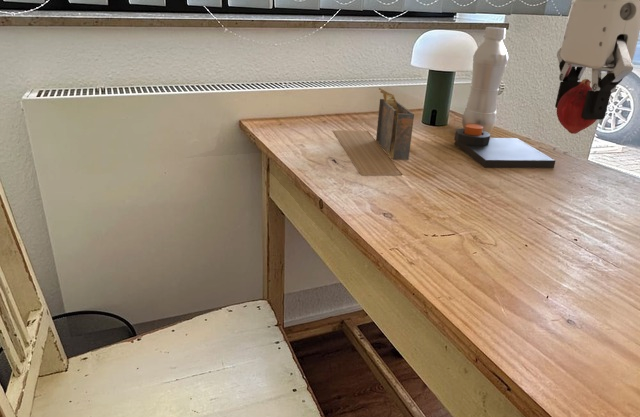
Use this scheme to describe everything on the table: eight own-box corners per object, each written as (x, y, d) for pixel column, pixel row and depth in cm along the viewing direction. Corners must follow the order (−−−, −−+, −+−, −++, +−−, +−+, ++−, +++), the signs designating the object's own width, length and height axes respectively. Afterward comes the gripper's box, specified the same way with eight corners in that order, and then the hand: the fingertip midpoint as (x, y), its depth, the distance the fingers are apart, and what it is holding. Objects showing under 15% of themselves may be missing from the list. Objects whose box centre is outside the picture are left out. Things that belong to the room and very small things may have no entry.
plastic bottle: (485, 128, 103) (505, 27, 95) (498, 137, 97) (520, 30, 88) (455, 127, 102) (472, 25, 94) (466, 136, 96) (485, 28, 88)
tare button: (477, 132, 89) (478, 124, 88) (484, 137, 86) (485, 128, 86) (461, 132, 89) (462, 123, 88) (468, 137, 86) (469, 128, 85)
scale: (514, 144, 93) (517, 129, 91) (553, 168, 80) (558, 151, 79) (448, 143, 91) (451, 128, 90) (478, 168, 79) (482, 150, 78)
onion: (588, 141, 70) (603, 84, 66) (546, 133, 73) (558, 79, 70) (598, 133, 74) (612, 79, 70) (558, 126, 77) (570, 74, 74)
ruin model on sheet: (332, 130, 96) (335, 79, 92) (413, 131, 98) (419, 81, 94) (361, 175, 73) (366, 110, 69) (464, 174, 76) (475, 112, 72)
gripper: (689, -23, 57) (643, 128, 65) (596, -21, 73) (568, 100, 80) (630, -24, 56) (591, 129, 64) (549, -23, 72) (524, 101, 79)
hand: (578, 112), depth 72 cm, fingers closed on onion, 5 cm apart
